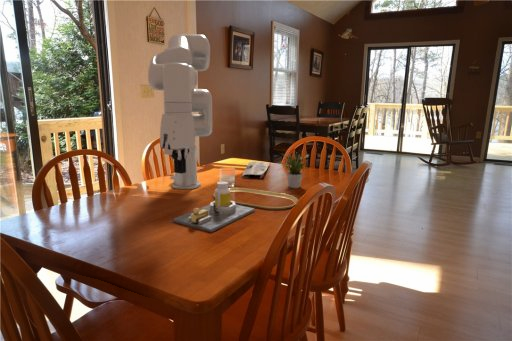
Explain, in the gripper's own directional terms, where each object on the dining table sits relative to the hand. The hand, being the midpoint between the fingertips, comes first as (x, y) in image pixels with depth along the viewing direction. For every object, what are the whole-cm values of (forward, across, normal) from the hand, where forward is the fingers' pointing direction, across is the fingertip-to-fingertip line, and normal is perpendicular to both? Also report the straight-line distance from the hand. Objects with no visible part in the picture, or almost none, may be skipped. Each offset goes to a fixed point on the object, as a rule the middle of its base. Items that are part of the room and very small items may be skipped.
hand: (180, 172), depth 105 cm
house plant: (+18, -66, +3) cm, 69 cm away
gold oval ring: (+19, -41, 0) cm, 45 cm away
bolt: (+17, -8, 0) cm, 19 cm away
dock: (+18, -16, 0) cm, 24 cm away
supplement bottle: (+17, -20, 0) cm, 27 cm away
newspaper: (+18, -85, -27) cm, 91 cm away
